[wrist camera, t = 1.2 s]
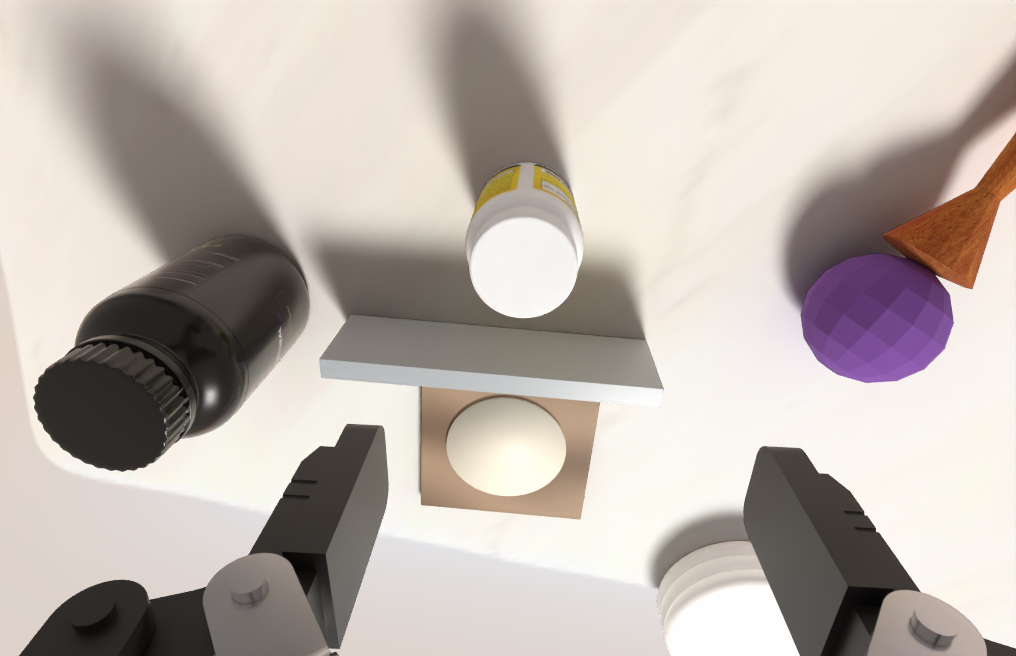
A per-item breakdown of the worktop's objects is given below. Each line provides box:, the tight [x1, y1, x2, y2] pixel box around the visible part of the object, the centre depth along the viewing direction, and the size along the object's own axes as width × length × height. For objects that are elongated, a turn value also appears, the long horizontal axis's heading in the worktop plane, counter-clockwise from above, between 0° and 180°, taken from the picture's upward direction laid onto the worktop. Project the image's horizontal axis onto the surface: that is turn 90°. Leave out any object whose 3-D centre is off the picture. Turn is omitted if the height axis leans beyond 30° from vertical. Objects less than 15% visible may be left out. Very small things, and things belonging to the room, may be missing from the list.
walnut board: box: [421, 387, 600, 519], centre depth 34 cm, size 10×10×1 cm
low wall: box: [320, 314, 664, 407], centre depth 29 cm, size 1×16×5 cm, turn 86°
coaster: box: [657, 541, 800, 656], centre depth 38 cm, size 10×10×4 cm
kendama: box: [801, 133, 1016, 383], centre depth 25 cm, size 6×6×20 cm
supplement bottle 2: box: [465, 162, 584, 318], centre depth 25 cm, size 5×5×8 cm
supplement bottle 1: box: [33, 236, 310, 472], centre depth 26 cm, size 7×7×12 cm
